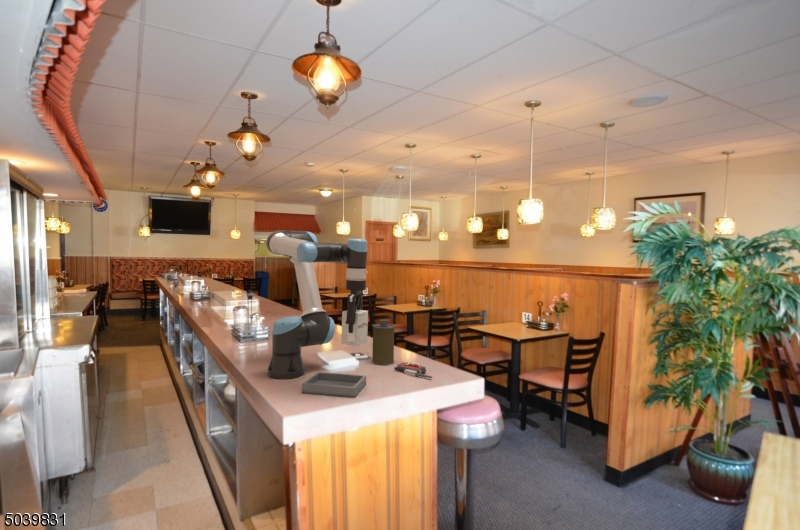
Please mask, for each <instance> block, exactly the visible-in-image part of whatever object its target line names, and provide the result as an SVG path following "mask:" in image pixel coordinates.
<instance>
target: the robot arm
mask: <svg viewBox="0 0 800 530" xmlns="http://www.w3.org/2000/svg"><path fill="white" fill-rule="evenodd" d="M265 244H266V249H267V250H268V252H270V253H271V254H274V255H275V256H286V257H287V256H288V257H289V260H290V262H291V263H293V264H294V270H295V275H296V276H295V277H296V282H297V286H298V293H299V297H300V303H301V304H300V305H301V309H302V314H301V315H300V316H295V315H293V316H285V317H280V318H278V319H276V320H274V321H273V323H272V331H271V333H272V335H271V336H272V338H271V340H272V343H271V344H272V345H271V347H272V351H271V352H272V353H271V354H272V355H271V358H270V361H269V365H268V368H267V376H268V377H269V378H271V379H272V378H273V379H277V380H280V379H281V380H286V379H287V380H288V379H295V378H298V377H301V376H303V375H305V374H306V366H305V363H304V361H303V357H302V348H303V347H311V346H318V345H319V346H321V345H323V344H324V345H325V344H328V343H330V342H331V341H332V340H333V338H334V334H335V331H336V329H335V328H336V327H335V326H336V325H335V321H334V319H333V318H332V317H330V316H328V313H327V311H326V310H325V309H323V305H322V299H321V294H320V290H319V289H320V288H319V285H318V278H317V274H316V270H315V265H314V263H344V264H345V263H346V273H345V278H346V280H345V290H347V291H350V294H349V295H347V308H346V311H347V318H346V322H345V324H348V332H347V341H351V342H355V324H354V323H355V314H356V310H363V307H364V306H363V303H364V301H363V297H364V293H363V292H364V291H365V290H366V289H367V281H366V279H367V274H368V273H369V272H368V270H367V266H368V265H367V263H368V262H367V260H368V250H369V249H368V241H367V240H366V239H364V238H348V239H347V243H344V242H342V243H341V242H318V239H317V237H316V235H315V234H314V233H313V232H311V231H306V230H287V229H283V230H281V229H279V230H275V231H273V232H271V233H270V234H269V235H268V236H267V238H266V241H265ZM362 291H363V292H362Z"/></svg>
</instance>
